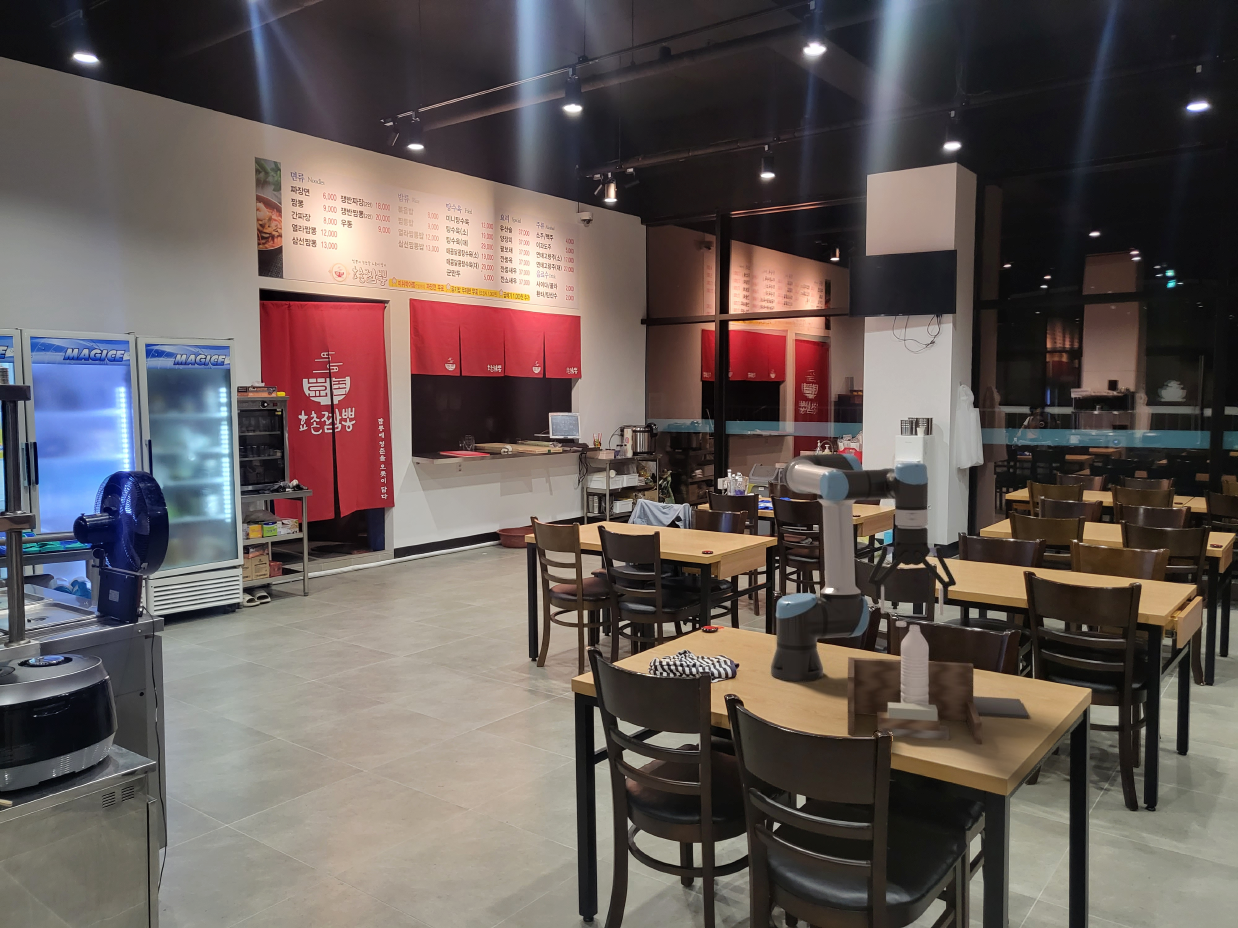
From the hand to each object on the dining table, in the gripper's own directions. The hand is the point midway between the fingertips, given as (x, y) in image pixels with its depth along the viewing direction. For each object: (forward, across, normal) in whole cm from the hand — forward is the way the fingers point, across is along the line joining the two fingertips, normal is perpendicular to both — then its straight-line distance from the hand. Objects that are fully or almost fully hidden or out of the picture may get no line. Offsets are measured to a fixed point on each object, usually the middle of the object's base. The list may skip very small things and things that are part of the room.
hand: (911, 613), depth 219 cm
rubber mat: (+28, +22, +18) cm, 39 cm away
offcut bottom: (+28, 0, -6) cm, 29 cm away
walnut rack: (+28, 0, 0) cm, 28 cm away
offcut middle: (+26, -1, -6) cm, 27 cm away
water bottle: (+28, 0, 0) cm, 28 cm away
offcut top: (+24, 0, -7) cm, 24 cm away
